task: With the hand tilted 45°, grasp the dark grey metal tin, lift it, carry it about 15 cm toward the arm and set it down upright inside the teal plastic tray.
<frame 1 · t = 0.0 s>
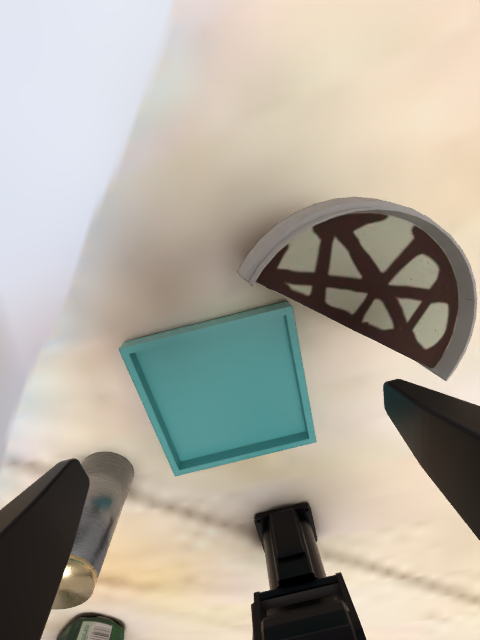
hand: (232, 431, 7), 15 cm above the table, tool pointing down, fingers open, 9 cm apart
teal tray: (226, 390, 24), on the table
food container: (316, 255, 21), on the table
grey tin: (107, 471, 26), on the table
coffee jar: (92, 630, 35), on the table
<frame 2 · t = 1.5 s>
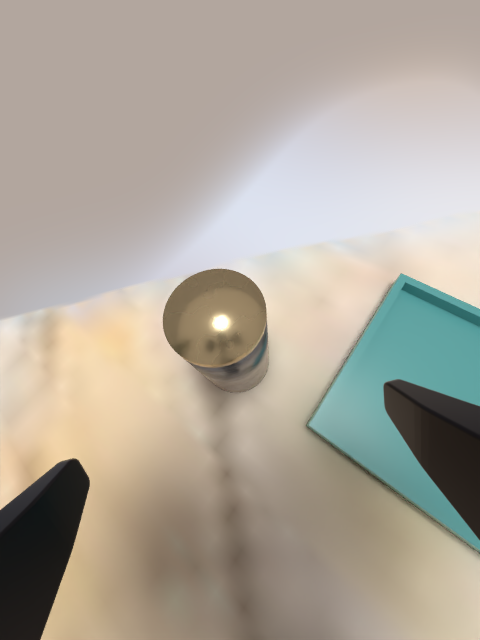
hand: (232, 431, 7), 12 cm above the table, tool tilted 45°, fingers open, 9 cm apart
teal tray: (447, 403, 18), on the table
grey tin: (236, 359, 21), on the table
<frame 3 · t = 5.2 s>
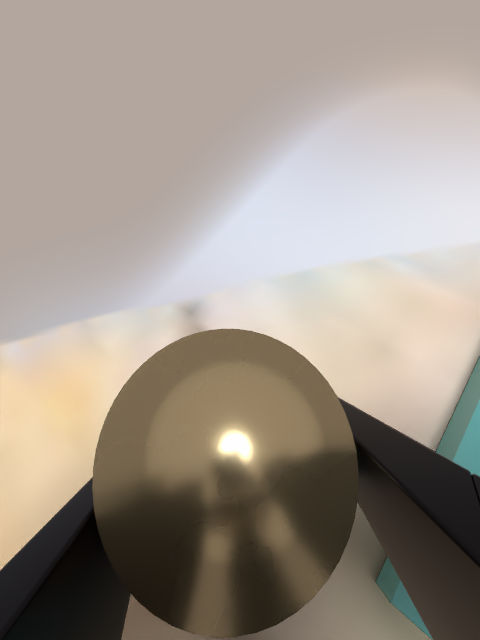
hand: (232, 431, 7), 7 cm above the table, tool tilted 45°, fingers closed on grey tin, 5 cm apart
grey tin: (252, 443, 13), on the table, touching gripper
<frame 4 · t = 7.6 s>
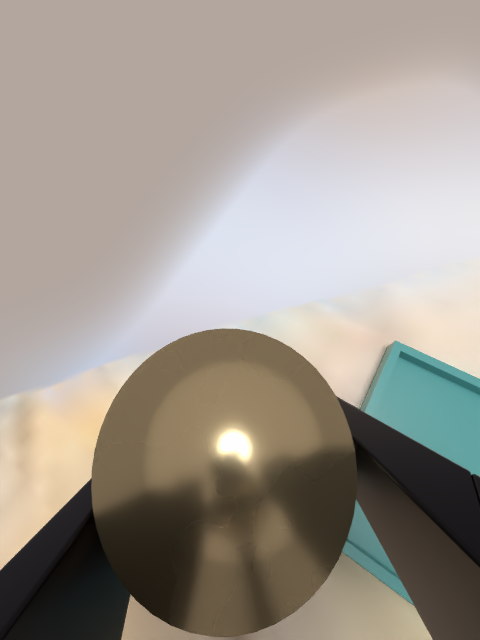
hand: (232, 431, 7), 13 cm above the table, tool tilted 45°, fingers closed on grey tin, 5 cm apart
teal tray: (457, 486, 17), on the table
grey tin: (252, 443, 13), point 7 cm above the table, touching gripper
when the fingers open (8 cm above the table, at t = 10.2 s): grey tin drops 1 cm, resting on teal tray.
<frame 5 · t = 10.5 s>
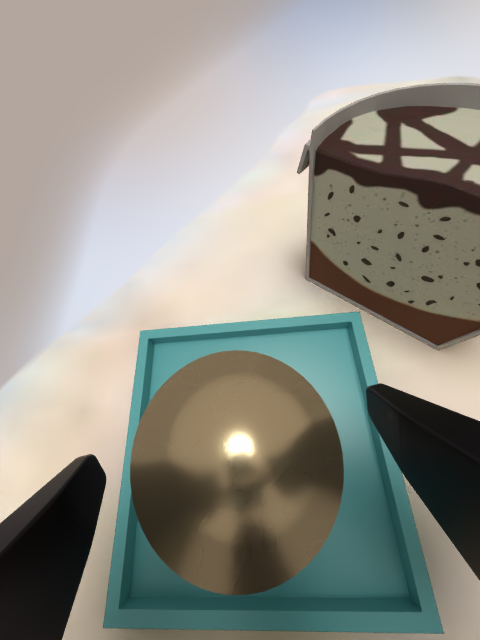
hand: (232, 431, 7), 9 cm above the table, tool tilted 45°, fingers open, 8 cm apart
teal tray: (254, 442, 15), on the table
food container: (385, 280, 19), on the table
grey tin: (254, 443, 15), point 1 cm above the table, touching teal tray
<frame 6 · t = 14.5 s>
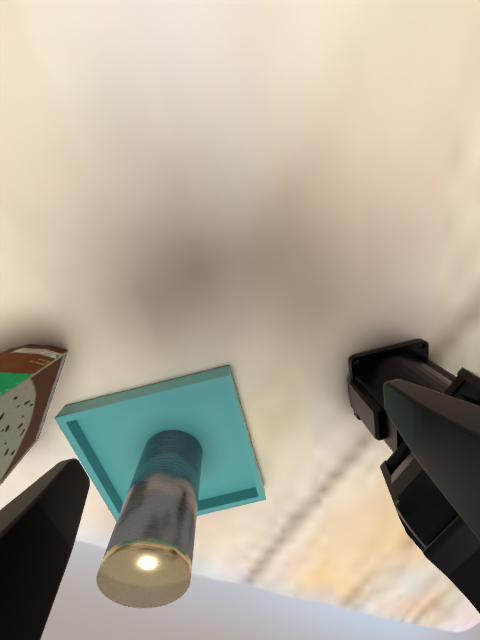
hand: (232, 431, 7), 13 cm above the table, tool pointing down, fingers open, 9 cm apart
teal tray: (173, 448, 24), on the table
food container: (14, 382, 21), on the table
grey tin: (173, 453, 23), point 1 cm above the table, touching teal tray
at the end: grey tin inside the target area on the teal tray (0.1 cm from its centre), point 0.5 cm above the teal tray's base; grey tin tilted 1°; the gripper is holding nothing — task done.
